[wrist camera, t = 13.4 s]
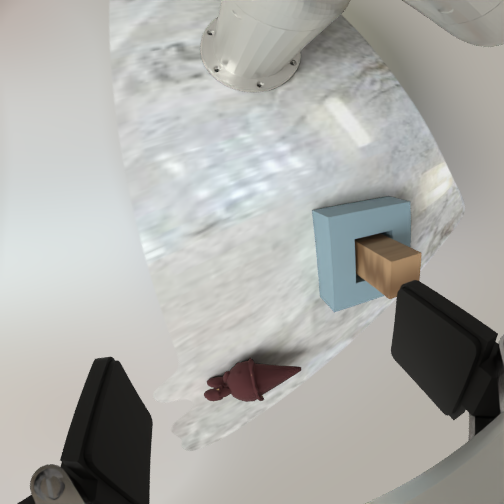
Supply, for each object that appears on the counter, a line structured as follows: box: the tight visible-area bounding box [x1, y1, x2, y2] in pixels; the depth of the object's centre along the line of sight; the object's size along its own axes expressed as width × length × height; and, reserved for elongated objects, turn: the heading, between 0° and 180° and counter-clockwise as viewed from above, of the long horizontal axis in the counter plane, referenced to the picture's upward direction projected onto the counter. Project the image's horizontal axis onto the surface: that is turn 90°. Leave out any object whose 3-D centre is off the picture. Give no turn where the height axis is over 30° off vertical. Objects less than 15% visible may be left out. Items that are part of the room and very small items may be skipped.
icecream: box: [204, 358, 301, 402], centre depth 40 cm, size 7×7×15 cm
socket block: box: [312, 196, 411, 312], centre depth 38 cm, size 13×13×5 cm
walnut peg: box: [354, 233, 421, 299], centre depth 35 cm, size 5×5×12 cm
